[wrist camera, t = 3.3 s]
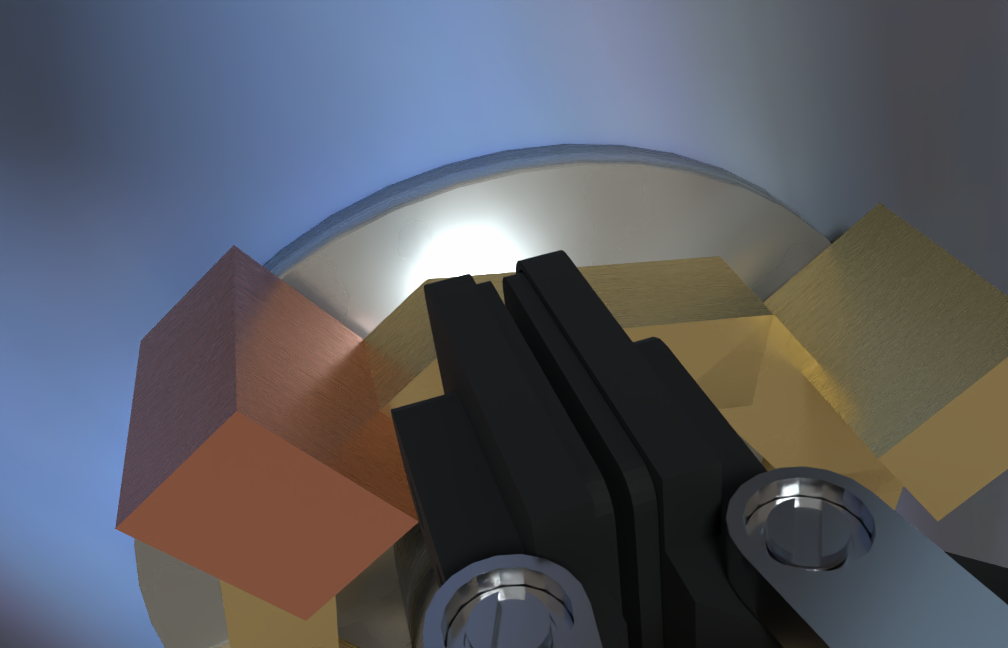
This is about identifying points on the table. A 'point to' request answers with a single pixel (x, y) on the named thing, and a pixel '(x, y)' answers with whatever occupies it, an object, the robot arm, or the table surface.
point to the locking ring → (416, 377)
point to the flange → (487, 250)
